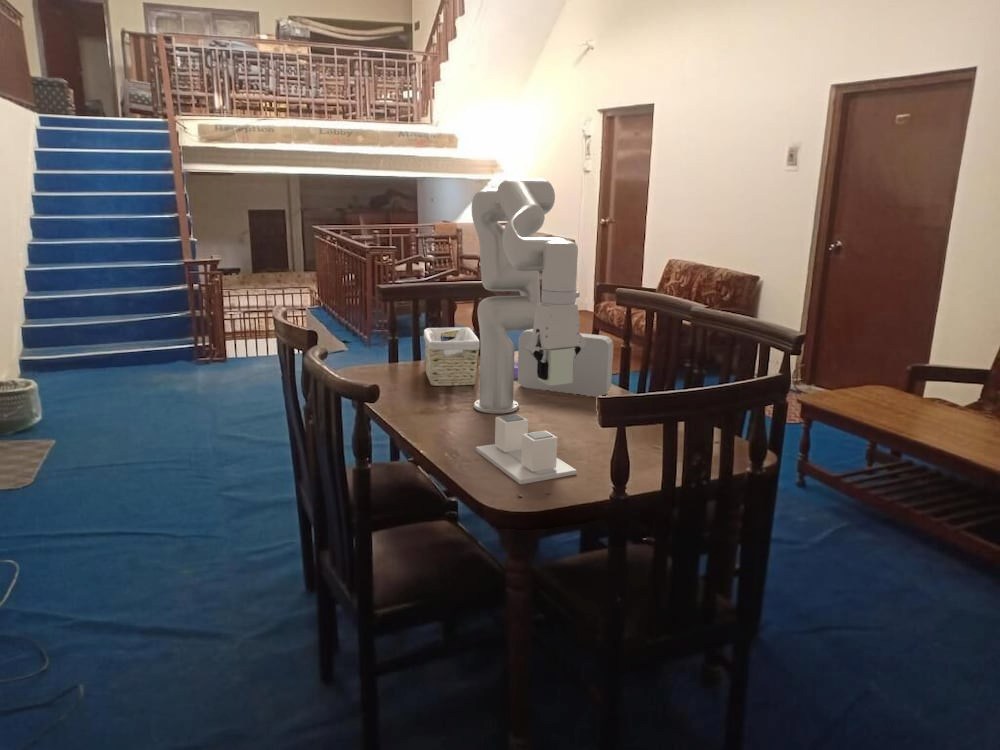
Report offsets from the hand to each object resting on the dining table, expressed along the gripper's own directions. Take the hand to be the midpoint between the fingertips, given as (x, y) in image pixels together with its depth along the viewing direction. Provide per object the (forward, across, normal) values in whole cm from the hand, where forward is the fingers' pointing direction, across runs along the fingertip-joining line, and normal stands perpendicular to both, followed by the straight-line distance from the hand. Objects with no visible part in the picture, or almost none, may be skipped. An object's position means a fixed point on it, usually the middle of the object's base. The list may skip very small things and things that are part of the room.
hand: (555, 376), depth 166 cm
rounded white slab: (+20, -34, -47) cm, 62 cm away
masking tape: (+20, -33, -69) cm, 79 cm away
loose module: (+1, 0, 0) cm, 1 cm away
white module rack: (+20, +7, 0) cm, 21 cm away
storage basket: (+20, -9, -75) cm, 78 cm away
